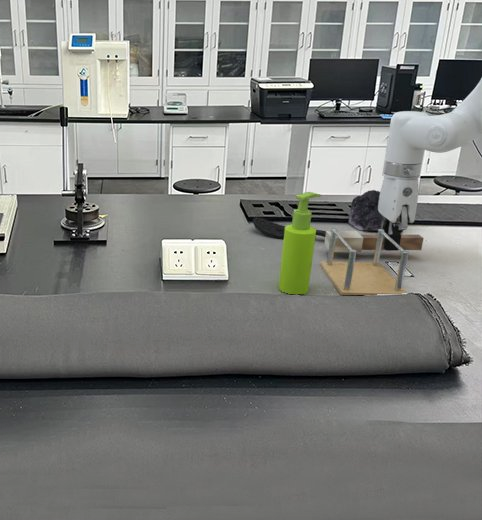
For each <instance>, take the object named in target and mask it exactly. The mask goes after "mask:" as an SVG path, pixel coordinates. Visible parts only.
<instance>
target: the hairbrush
mask: <svg viewBox="0 0 482 520" xmlns="http://www.w3.org/2000/svg"><path fill="white" fill-rule="evenodd" d="M257 216H258V217H257ZM257 216H254V217H253V219H252V224H253V225H254V228H255V229H257V230H258V231H259V232H261V233H262V234H264V236H265V235H266V236H268V237H272V238H275V239H277V240H284V232H285V227H286V226H287V225H291V224H287V222H286V224H285V223H283V224H280V223H279V221H276V222H274V219H273V218H272V219H270V218H268V219H265V216H264V215H263V216H262V217H260V214H258V215H257ZM326 231H327V230H322V229H316V236H317V237H323V238H325V236H326Z"/></svg>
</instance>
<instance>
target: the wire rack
mask: <svg viewBox="0 0 482 520" xmlns="http://www.w3.org/2000/svg"><path fill="white" fill-rule="evenodd" d="M330 231H331V237H330V244H329V249H328V250H327V251H328V252H327V259H326V261H325V260H324V261H320V264H319V265H320V267H321V268H322V269H323V271H324V273H325V275H327V277H328V278H329V280H330V282H331V283H332V284H333V286H334V287H335V289H336V290H337V291H338V293H339V295H340V294H341V295H377V294H402V293H408V292H407V290H406V289H404V287H403V282H404V278H405V272H406V268H407V265H408V264H407V263H408V258H409V254H410V252H409V250H404V249H403V248H402V247H400V246H399V245H398V244H397V243H396V242H395V241H394V240H393V239H392V238H390V237H389V236H388V235H387V234H386V233H385V232H384V230H383V229H379V230H378V231H377V234H376V235H377V241H376V246H375V250H374V252H373V257H372V262H371V261H370V262H369V261H356V257H357V252H356V250H353V249H352V248H351V247H350V246H349V244H348V243H347V242H346V241H345V240H344V239H343V238H342V236H341V235H340V234H339V233H338V232H337V231H338V228H331V230H330ZM336 236H338V238H339V239H340V240H341V241H342V242H343V243H344V245H345V246H346V247H347V248H348V249H349V250H350V252H348V259H347V261H334V255H335V252H334V249H335V243H336ZM383 236H385V237H386V238H387V239H388V240H389V241H390V242H391V243H392V244H394V245H395V246H396V247H397V248H398V249H399V250H398V251H400V252H401V255H400V260H399V264H398V270H397V273H396V279H395V278H394V276H393V275H391V273H389V271H388V270H387V269H386V268H385V267H384V266H383V265H382V264H381V262H379V261H380V257H381V252H382V250H381V247H382V241H383ZM341 295H340V296H341Z"/></svg>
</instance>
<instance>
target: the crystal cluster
mask: <svg viewBox="0 0 482 520" xmlns="http://www.w3.org/2000/svg"><path fill="white" fill-rule="evenodd" d="M379 196H380V191H379V190H375V189H371V190H368V191H364V192H363V194H361V195H357V196H355V197H354V198H353V199H352V201H351V205H350V209H349V217H348V218H349V219H348V224H350V225H351V226H352V227H353V228H355V229H357V231H367V232H368V231H376V232H378V230H379V229H383V228H381V222H382V219H381V218H382V216H381V213H379V211H378V203H379ZM397 221H399V219H397ZM395 225H399V224H395Z"/></svg>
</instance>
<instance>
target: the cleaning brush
mask: <svg viewBox="0 0 482 520" xmlns="http://www.w3.org/2000/svg"><path fill="white" fill-rule="evenodd" d="M325 231H326V236H325V237H324V246H325V247H326V249H328V250H329V244H330V237H331V230H325ZM337 232H338V233H339V234H340V235H341V236H342V238H343V239H344V240H345V241H346V242H347V243H348V244H349V246H350V247H351V248H352V249H353V250H356V253H362V251H375V246H376V241H377V235H378V234H364V233H363V234H360V232H358V230H337ZM385 239H386V237H385V236H383V241H382V247H381V251H385V250H384V245H385ZM423 243H424V237H423V236H421V235H420V234H402V235H401V240H400V247H402V248H403V249H404V250H405V251H422V250H423V249H422V248H423ZM334 253H350V250H349V249H348V248H347V247H346V246H345V245H344V243H343V242H342V241H341V240H340V239H339V238H338V236H336V243H335V249H334Z"/></svg>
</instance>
